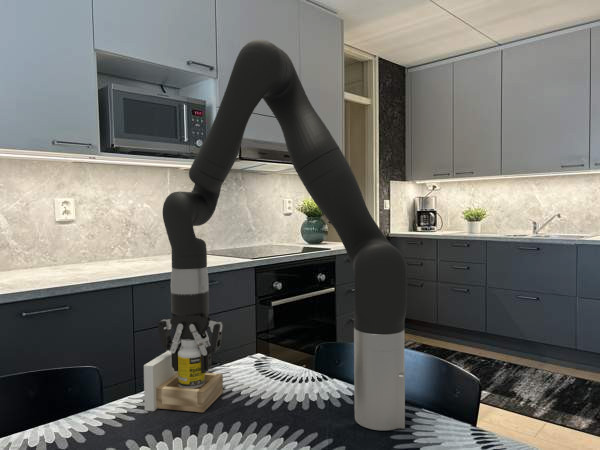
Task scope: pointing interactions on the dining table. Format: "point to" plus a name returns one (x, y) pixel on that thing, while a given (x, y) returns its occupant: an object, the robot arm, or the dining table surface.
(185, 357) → the supplement bottle
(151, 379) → the backstop board
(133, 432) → the dining table surface
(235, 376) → the dining table surface
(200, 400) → the socket block
